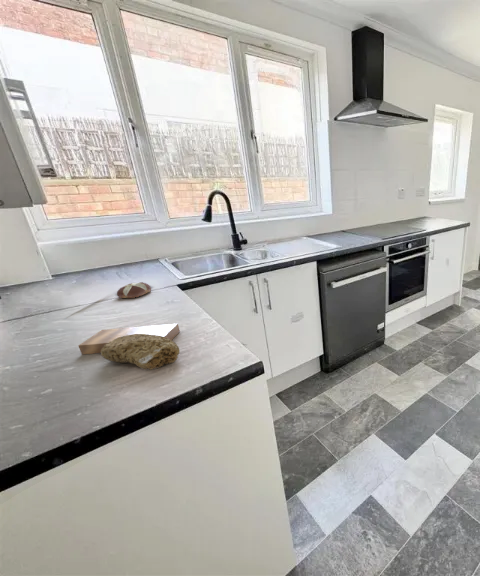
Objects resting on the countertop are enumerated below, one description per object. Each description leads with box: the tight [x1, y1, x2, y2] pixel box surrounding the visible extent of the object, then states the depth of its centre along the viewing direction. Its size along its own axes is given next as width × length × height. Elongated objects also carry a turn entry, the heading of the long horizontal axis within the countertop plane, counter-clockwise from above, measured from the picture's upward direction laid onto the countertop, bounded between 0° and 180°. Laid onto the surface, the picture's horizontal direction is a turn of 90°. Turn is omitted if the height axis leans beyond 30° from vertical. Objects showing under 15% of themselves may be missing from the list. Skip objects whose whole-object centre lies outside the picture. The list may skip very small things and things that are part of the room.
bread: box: [116, 281, 152, 299], centre depth 135 cm, size 11×11×5 cm
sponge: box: [100, 334, 180, 371], centre depth 84 cm, size 13×8×20 cm
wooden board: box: [77, 323, 181, 355], centre depth 95 cm, size 22×10×3 cm, turn 100°
